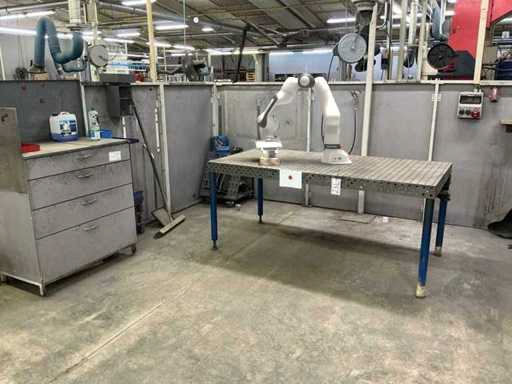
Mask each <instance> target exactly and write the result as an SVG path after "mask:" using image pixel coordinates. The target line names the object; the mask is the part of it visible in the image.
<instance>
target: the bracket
mask: <svg viewBox="0 0 512 384" xmlns="http://www.w3.org/2000/svg"><path fill="white" fill-rule="evenodd" d="M276 155H277V154H276V150H267V158H277V156H276Z"/></svg>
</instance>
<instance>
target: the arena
mask: <svg viewBox="0 0 512 384" xmlns="http://www.w3.org/2000/svg"><path fill="white" fill-rule="evenodd" d="M280 163H281V162H280V158H279V157H278V158H277V157H276V158H268V157H265V155H260V158H259V166H260V167H261V166H262V167H263V166H270V167H271V166H273V167H277V166H279V167H280Z"/></svg>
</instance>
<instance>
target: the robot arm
mask: <svg viewBox="0 0 512 384" xmlns="http://www.w3.org/2000/svg"><path fill="white" fill-rule="evenodd" d="M299 89H303V90H309V89H311V90H312V91H313V93H314V95H315V97H316V100H317V103H318V105H319V107H320V110H321V112H322V115H323V118H324V133H323V134H324V135H323V136H324V138H323V140H324V141H323V143H322V144H323V145H322V156H321V161H320V163H323V164H329V165H350V164H352V160H350V159H349V158H350V157H349V155H348V153H347V152H346V151H345V150H343V149H342V148H343V144H340V125H341V124H340V122H341V118H342V117H341V113H340V111H339V108H338V106H337V103H336V102H335V99H334V96H333V94H332V92H331V89H330V87H329V84H328V82H327V81H326V80H325V78H324V77H322V76H318V77H316V78H314V76H312V75H311V74H309V73H306V72H304V73H301V74H300V75H299V76H298V77H297V78H295V77H292V76H291V77H290V76H289V77H287V79H286V80H285V81H284V83H283V84H282V86H281V88H280V90H279V91H278V93H277V94H275V95H273V96H272V97H271V98H270V100H269V101H268V102H267V104H266V106H265V107H264V109H263V110H262V112H261V113H260V114H259V115H258V117H257V119H256V123H257V126H258V130H259V134H260V138H257V139H254V141H253V142H254V145H255V150H256V151H260V152H261V153H262V155H266V151H268V150H275V151H276V155H278V150H279V151H280V150H282V149H283V144H282V141H281V140H280V136H279V135H276V134H274V133H275V132H277V131H278V130H279V128H280V120H279V119H278V118H276V117H272V116H270V114H271V113H272V111H273V110H274V109H275V107H276V106H279V105H287V104H290V103H291V102H292V101H293V99H294V97H295V95H296V93H297V92H298V90H299Z"/></svg>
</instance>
